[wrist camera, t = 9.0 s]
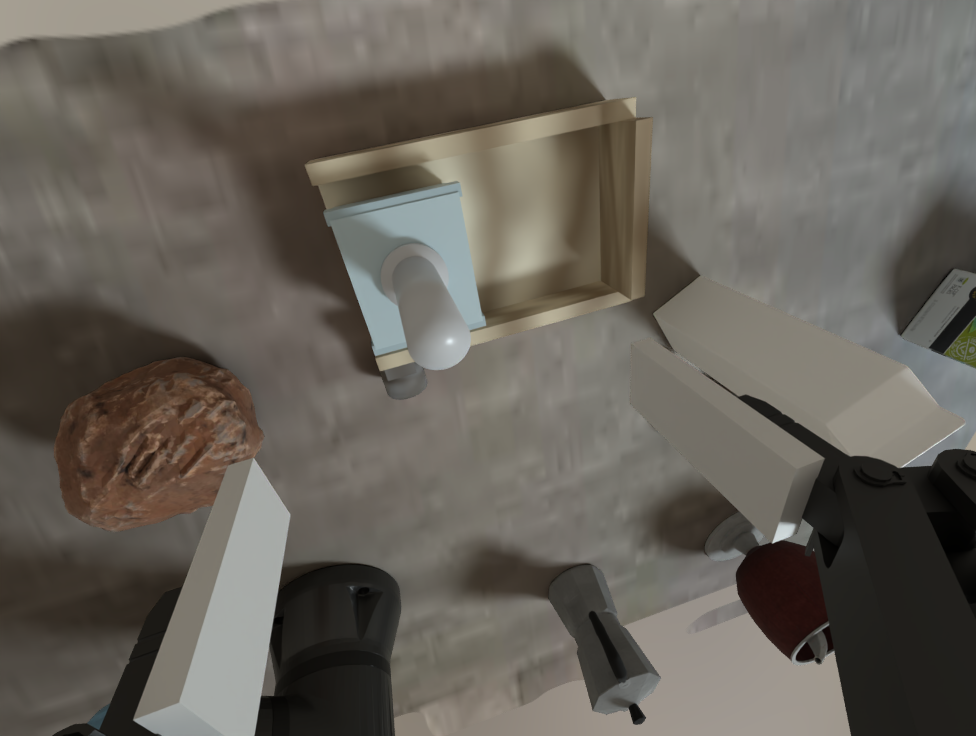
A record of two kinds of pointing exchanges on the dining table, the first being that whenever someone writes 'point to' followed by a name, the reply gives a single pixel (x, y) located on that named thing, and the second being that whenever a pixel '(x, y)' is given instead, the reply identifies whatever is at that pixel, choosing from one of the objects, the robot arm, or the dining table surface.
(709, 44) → the dining table surface
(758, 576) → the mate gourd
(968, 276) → the tea box
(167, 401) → the decorative rock
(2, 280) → the dining table surface
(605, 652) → the coffeepot
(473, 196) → the tray
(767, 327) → the milk
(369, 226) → the cylinder on square plate
